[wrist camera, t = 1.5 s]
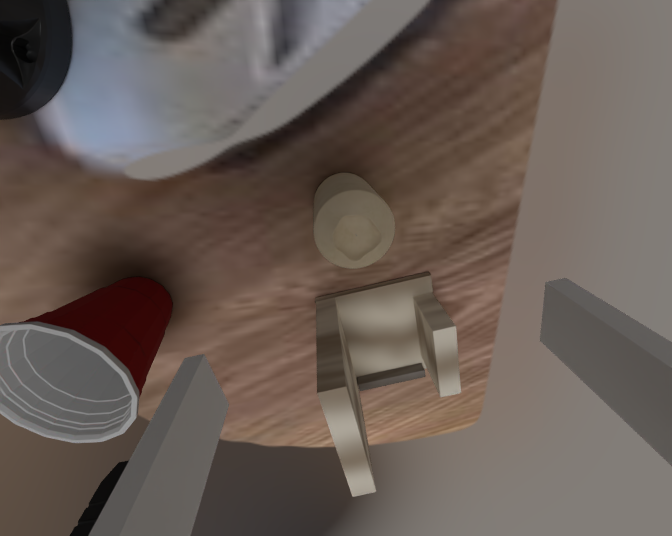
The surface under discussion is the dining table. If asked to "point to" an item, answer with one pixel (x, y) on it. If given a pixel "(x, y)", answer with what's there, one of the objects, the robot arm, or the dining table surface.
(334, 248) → the candle
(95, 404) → the plastic cup
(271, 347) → the dining table surface
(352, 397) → the beige u-shaped bracket
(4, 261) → the dining table surface
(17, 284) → the dining table surface
